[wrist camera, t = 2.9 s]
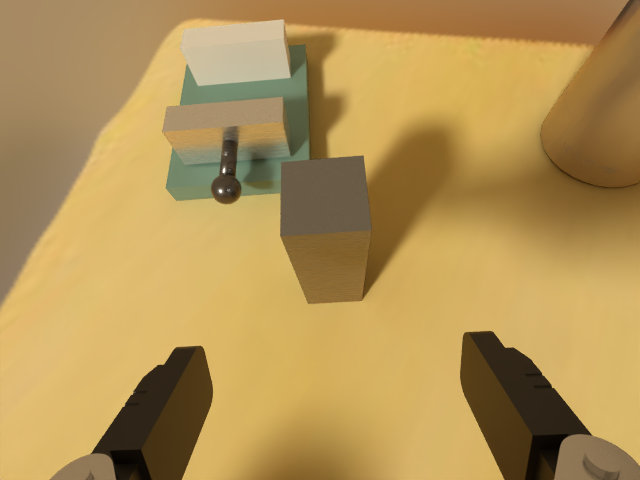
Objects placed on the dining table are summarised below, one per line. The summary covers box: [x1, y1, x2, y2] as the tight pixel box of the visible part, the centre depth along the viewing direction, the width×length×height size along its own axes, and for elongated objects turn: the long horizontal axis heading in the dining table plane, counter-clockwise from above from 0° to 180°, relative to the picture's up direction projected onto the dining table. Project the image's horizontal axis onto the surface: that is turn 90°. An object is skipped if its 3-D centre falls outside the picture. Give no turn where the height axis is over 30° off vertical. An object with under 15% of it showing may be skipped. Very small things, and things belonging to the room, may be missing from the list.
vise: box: [166, 20, 311, 201], centre depth 31 cm, size 16×12×6 cm
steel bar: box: [280, 156, 372, 304], centre depth 22 cm, size 4×4×12 cm
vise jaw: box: [162, 97, 291, 204], centre depth 27 cm, size 8×9×4 cm
